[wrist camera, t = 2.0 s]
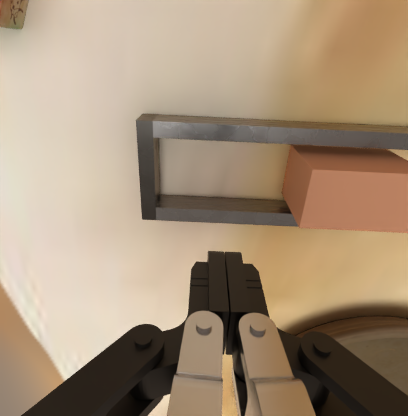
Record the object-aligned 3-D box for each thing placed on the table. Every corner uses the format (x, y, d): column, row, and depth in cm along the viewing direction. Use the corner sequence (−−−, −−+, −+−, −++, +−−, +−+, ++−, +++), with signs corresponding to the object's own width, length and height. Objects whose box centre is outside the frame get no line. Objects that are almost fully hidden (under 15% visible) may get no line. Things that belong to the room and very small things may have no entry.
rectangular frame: (431, 127, 24) (454, 135, 22) (395, 217, 28) (411, 231, 25) (142, 113, 24) (136, 120, 21) (147, 205, 27) (142, 219, 25)
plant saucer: (424, 443, 47) (444, 479, 43) (230, 439, 48) (232, 475, 44) (524, 299, 33) (568, 335, 29) (243, 295, 33) (248, 329, 29)
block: (385, 148, 25) (433, 175, 19) (369, 196, 27) (408, 232, 22) (290, 144, 25) (312, 169, 19) (281, 192, 27) (299, 227, 22)
